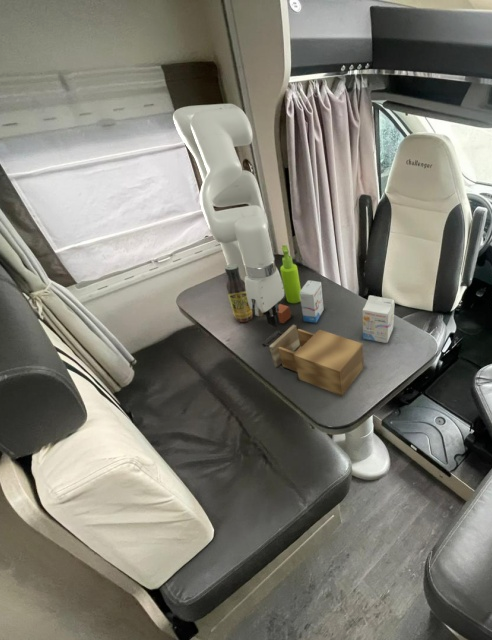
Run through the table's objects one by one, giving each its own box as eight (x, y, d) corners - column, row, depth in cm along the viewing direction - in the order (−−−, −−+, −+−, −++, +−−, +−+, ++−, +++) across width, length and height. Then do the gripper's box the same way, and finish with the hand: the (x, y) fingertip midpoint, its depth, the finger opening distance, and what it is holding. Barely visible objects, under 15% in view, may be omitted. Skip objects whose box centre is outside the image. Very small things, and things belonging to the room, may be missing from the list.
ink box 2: (362, 339, 119) (361, 305, 110) (369, 324, 125) (369, 290, 116) (387, 343, 117) (388, 309, 108) (393, 328, 123) (395, 294, 114)
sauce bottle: (236, 324, 125) (219, 273, 111) (234, 315, 129) (218, 264, 115) (255, 320, 126) (241, 269, 113) (253, 311, 131) (239, 260, 117)
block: (273, 320, 127) (270, 309, 124) (281, 313, 129) (278, 303, 127) (283, 323, 125) (281, 313, 122) (291, 316, 128) (289, 306, 125)
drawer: (260, 360, 110) (254, 341, 105) (283, 339, 117) (279, 319, 112) (312, 380, 104) (308, 360, 99) (333, 356, 111) (330, 336, 106)
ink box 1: (317, 323, 125) (312, 294, 117) (303, 321, 126) (298, 292, 118) (324, 309, 131) (321, 280, 123) (311, 307, 132) (307, 279, 124)
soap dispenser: (300, 292, 140) (292, 242, 126) (303, 301, 135) (295, 251, 122) (285, 294, 139) (275, 245, 125) (287, 304, 134) (277, 254, 120)
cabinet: (298, 379, 105) (293, 354, 99) (322, 353, 114) (319, 329, 107) (342, 396, 101) (339, 371, 94) (363, 367, 109) (362, 343, 103)
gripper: (267, 252, 99) (279, 307, 112) (228, 277, 89) (246, 335, 102) (290, 258, 97) (299, 313, 109) (252, 285, 87) (267, 343, 99)
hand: (274, 323), depth 105 cm, fingers closed
